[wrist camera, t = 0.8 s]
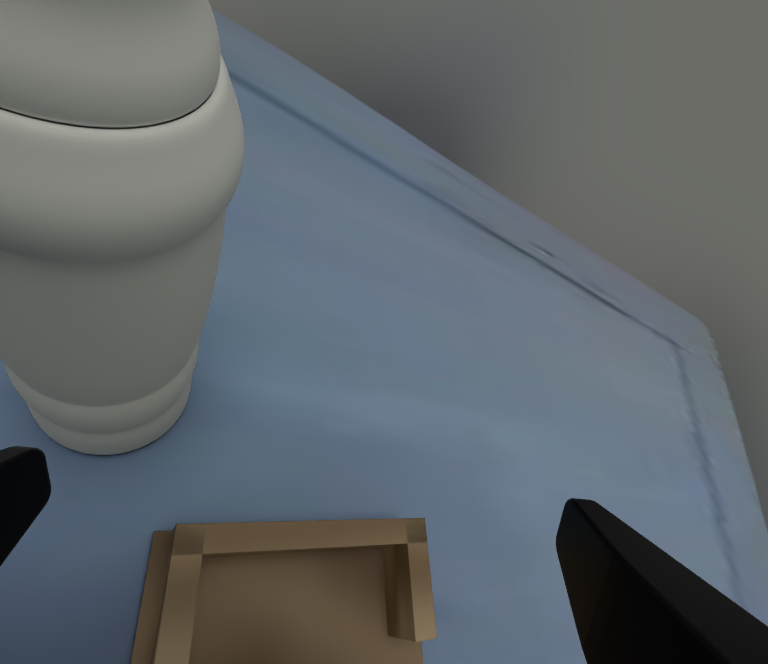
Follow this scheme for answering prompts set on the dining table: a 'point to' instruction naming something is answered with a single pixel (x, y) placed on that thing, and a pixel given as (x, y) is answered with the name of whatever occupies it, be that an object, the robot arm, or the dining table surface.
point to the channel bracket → (287, 593)
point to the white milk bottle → (110, 209)
